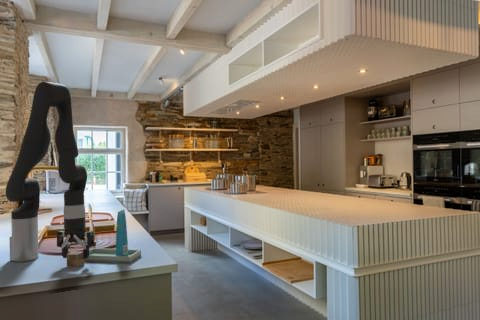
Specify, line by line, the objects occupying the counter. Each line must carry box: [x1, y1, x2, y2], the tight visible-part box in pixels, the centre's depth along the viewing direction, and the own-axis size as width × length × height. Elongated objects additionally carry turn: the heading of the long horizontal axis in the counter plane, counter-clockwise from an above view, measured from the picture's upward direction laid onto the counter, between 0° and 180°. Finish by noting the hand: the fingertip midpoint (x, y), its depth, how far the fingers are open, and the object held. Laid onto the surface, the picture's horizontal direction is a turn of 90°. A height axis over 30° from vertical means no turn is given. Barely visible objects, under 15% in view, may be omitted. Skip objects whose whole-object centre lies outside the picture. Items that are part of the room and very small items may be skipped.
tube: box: [115, 208, 129, 256], centre depth 140 cm, size 7×5×19 cm, turn 6°
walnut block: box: [66, 250, 86, 268], centre depth 132 cm, size 4×4×5 cm
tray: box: [85, 247, 142, 264], centre depth 141 cm, size 22×10×2 cm, turn 82°
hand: (75, 258), depth 132 cm, fingers open, 8 cm apart
